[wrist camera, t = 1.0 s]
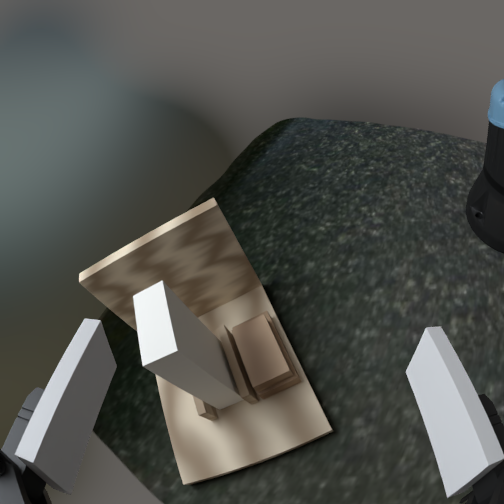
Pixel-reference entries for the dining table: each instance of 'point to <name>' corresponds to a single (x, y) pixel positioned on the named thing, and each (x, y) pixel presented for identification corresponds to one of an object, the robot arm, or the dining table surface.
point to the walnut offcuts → (265, 356)
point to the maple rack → (220, 324)
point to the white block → (182, 347)
